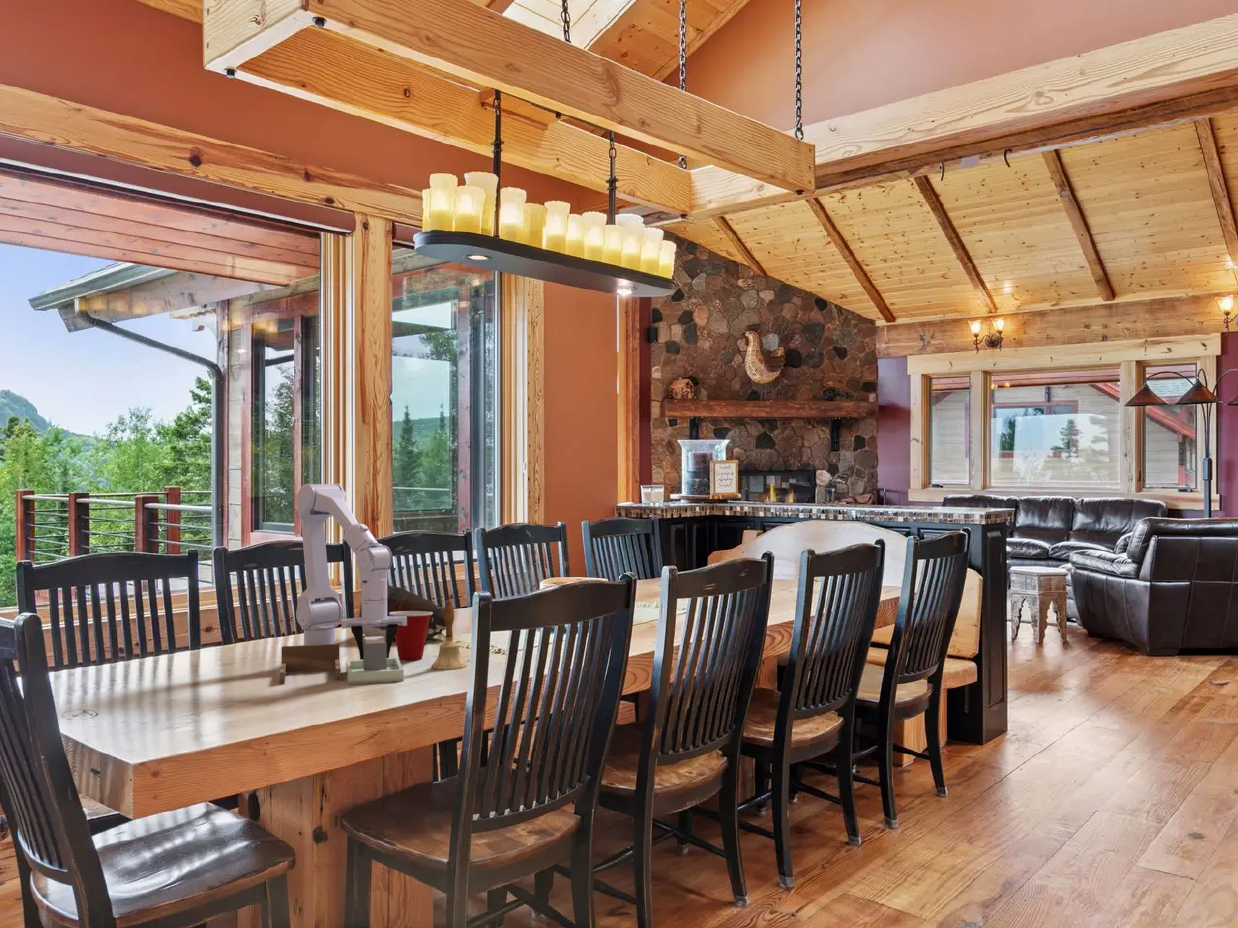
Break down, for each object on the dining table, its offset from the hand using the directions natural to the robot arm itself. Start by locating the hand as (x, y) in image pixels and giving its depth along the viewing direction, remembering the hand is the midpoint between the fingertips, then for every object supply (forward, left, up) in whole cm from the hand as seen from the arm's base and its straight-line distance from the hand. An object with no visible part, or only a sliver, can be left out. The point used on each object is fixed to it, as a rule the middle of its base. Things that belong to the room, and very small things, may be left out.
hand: (374, 658), depth 219 cm
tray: (0, 0, -4) cm, 4 cm away
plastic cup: (-18, +10, -4) cm, 21 cm away
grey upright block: (0, 0, -2) cm, 2 cm away
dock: (-4, -14, -4) cm, 15 cm away
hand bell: (-6, +18, -4) cm, 20 cm away
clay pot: (-46, +12, -4) cm, 48 cm away
